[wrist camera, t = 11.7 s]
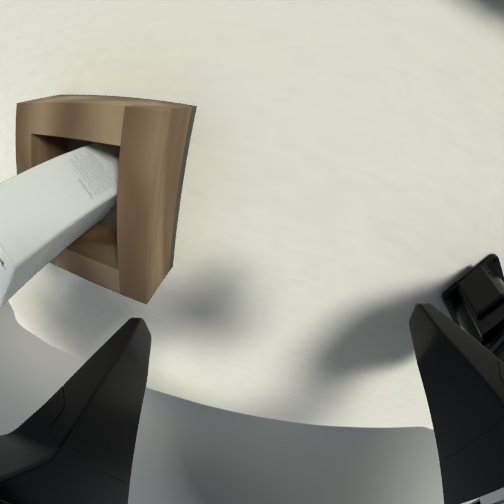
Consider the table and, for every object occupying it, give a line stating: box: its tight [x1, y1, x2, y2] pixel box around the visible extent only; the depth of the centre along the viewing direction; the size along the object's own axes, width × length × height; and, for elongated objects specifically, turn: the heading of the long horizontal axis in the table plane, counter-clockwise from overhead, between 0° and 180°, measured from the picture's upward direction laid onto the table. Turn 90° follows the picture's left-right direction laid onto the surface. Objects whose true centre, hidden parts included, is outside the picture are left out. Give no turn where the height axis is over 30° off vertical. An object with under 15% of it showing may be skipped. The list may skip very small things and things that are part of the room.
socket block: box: [16, 95, 197, 304], centre depth 18 cm, size 13×13×5 cm
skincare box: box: [0, 142, 120, 306], centre depth 14 cm, size 6×4×12 cm
